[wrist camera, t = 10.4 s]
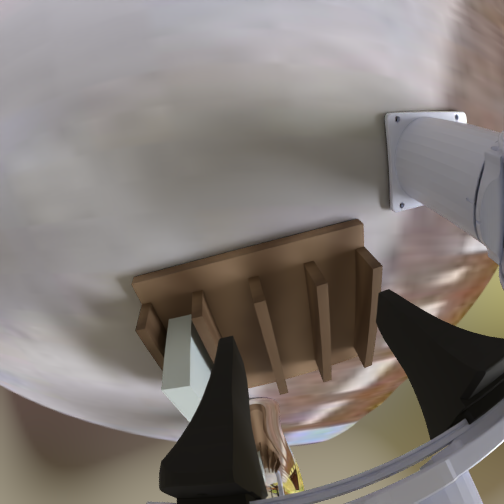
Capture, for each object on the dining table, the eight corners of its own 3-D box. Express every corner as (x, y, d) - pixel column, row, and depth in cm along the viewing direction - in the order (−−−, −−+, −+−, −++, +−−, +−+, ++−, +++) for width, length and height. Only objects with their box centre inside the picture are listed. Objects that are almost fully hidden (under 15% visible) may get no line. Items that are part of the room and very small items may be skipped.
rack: (357, 218, 21) (383, 241, 18) (355, 349, 29) (369, 375, 25) (134, 277, 21) (122, 309, 17) (200, 390, 29) (201, 420, 25)
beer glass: (234, 395, 30) (252, 514, 17) (289, 394, 31) (320, 503, 18) (224, 421, 33) (237, 521, 20) (273, 420, 34) (295, 514, 21)
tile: (191, 314, 22) (189, 385, 16) (220, 371, 26) (226, 433, 20) (168, 319, 22) (161, 390, 16) (201, 375, 26) (203, 436, 20)
